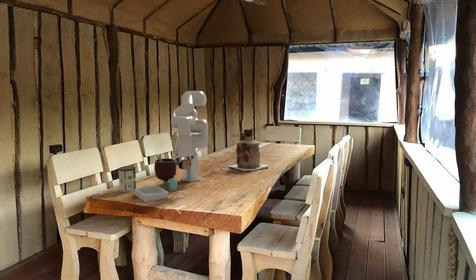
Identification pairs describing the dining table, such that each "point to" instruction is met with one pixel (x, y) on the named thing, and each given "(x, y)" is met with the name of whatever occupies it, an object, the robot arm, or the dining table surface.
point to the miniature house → (127, 178)
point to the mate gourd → (165, 170)
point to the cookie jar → (248, 152)
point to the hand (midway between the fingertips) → (184, 167)
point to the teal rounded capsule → (173, 184)
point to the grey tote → (151, 193)
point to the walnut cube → (185, 164)
